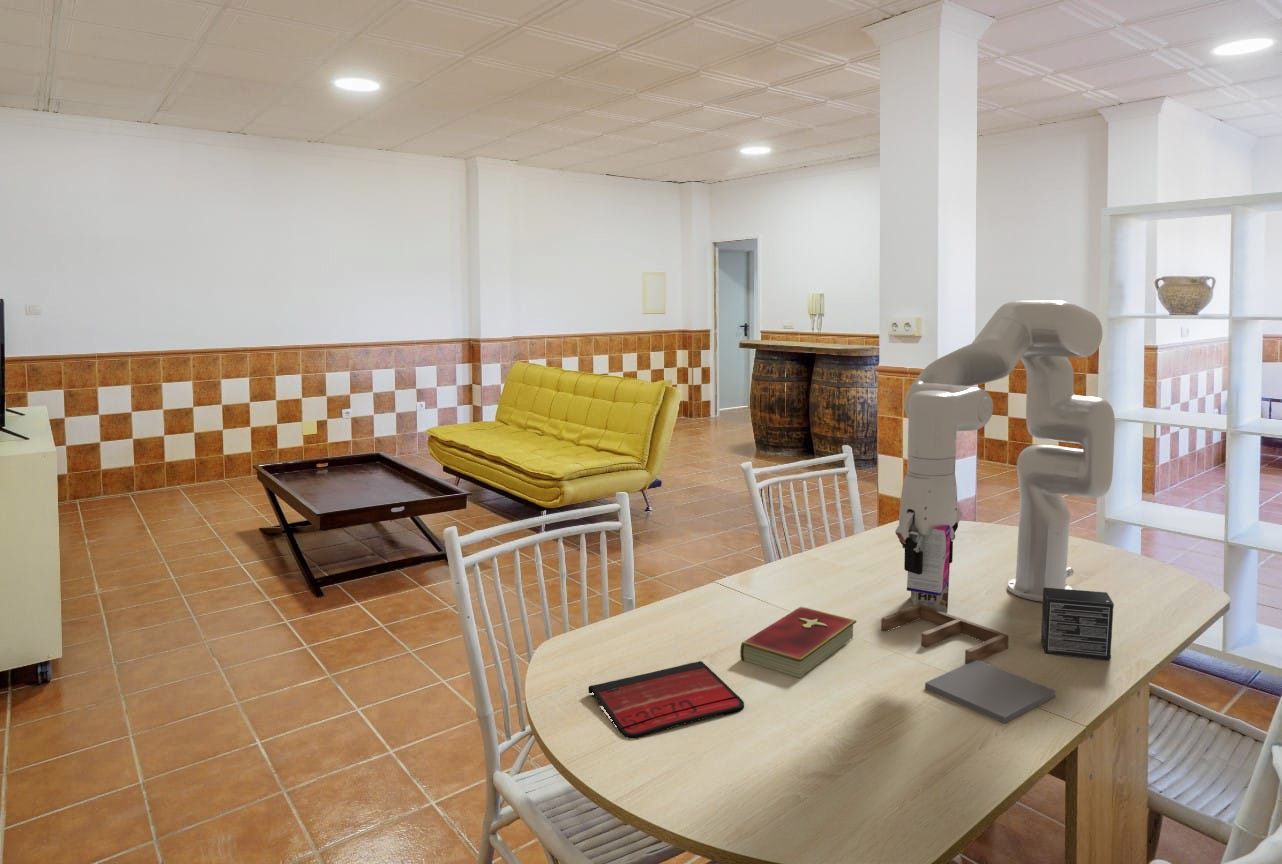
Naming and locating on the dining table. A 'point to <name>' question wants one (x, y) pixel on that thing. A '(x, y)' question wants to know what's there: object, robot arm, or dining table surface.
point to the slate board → (990, 690)
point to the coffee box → (932, 599)
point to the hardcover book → (798, 641)
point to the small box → (1077, 623)
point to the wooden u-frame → (949, 631)
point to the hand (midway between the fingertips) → (928, 566)
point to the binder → (665, 699)
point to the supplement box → (932, 563)
